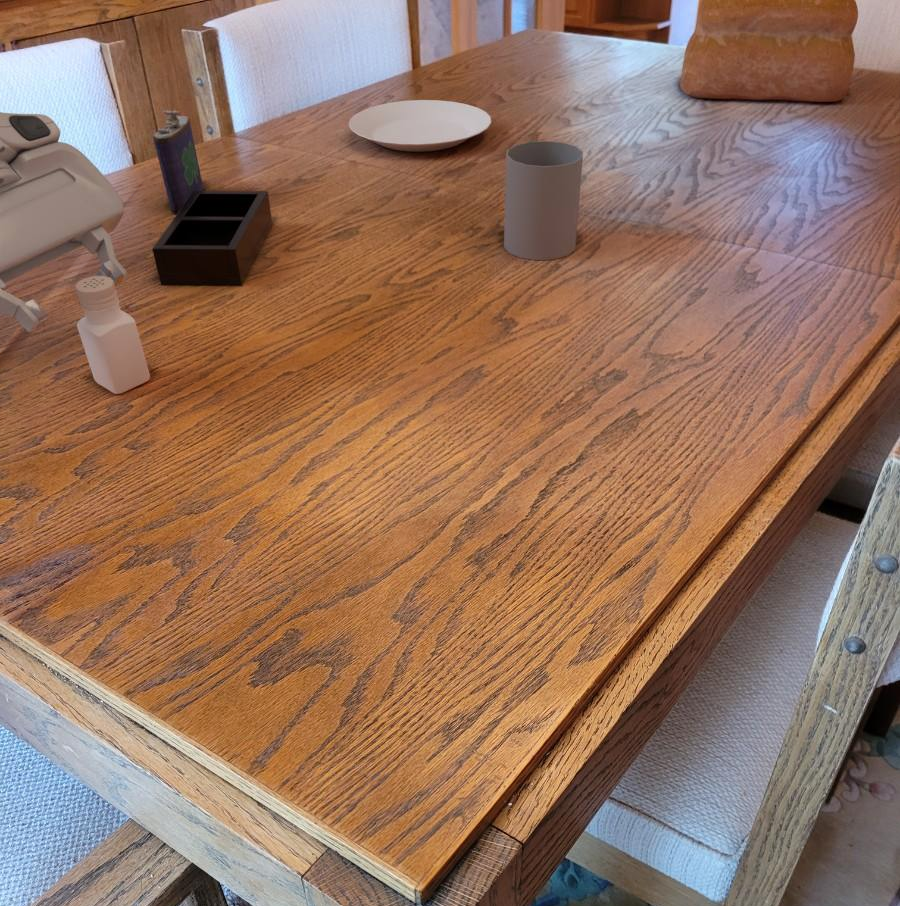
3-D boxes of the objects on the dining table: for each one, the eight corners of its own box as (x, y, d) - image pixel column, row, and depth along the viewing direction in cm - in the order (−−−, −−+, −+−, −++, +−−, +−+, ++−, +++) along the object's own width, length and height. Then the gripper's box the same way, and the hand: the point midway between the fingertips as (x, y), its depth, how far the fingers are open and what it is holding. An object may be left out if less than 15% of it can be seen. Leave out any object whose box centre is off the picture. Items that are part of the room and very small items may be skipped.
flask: (188, 188, 120) (170, 98, 112) (209, 188, 119) (193, 99, 112) (166, 214, 113) (145, 122, 105) (189, 215, 113) (170, 122, 105)
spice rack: (160, 285, 98) (151, 248, 96) (200, 224, 111) (193, 190, 108) (241, 285, 98) (235, 249, 95) (272, 224, 110) (267, 190, 107)
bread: (678, 79, 154) (693, -28, 143) (837, 83, 150) (865, -26, 140) (679, 101, 144) (696, -11, 134) (850, 107, 141) (880, -8, 130)
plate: (519, 141, 131) (520, 124, 130) (397, 171, 123) (396, 154, 121) (440, 107, 144) (440, 92, 142) (324, 132, 136) (323, 116, 134)
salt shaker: (117, 398, 81) (86, 298, 75) (92, 383, 83) (60, 284, 77) (154, 381, 84) (127, 282, 77) (129, 366, 85) (101, 269, 79)
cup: (494, 254, 103) (496, 161, 96) (515, 227, 108) (518, 138, 101) (566, 264, 101) (573, 170, 94) (583, 236, 106) (591, 145, 99)
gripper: (-146, 182, 67) (-7, 334, 70) (63, 110, 79) (172, 241, 83) (-156, 233, 71) (-25, 372, 74) (44, 156, 84) (148, 278, 87)
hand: (80, 302), depth 79 cm, fingers open, 8 cm apart
